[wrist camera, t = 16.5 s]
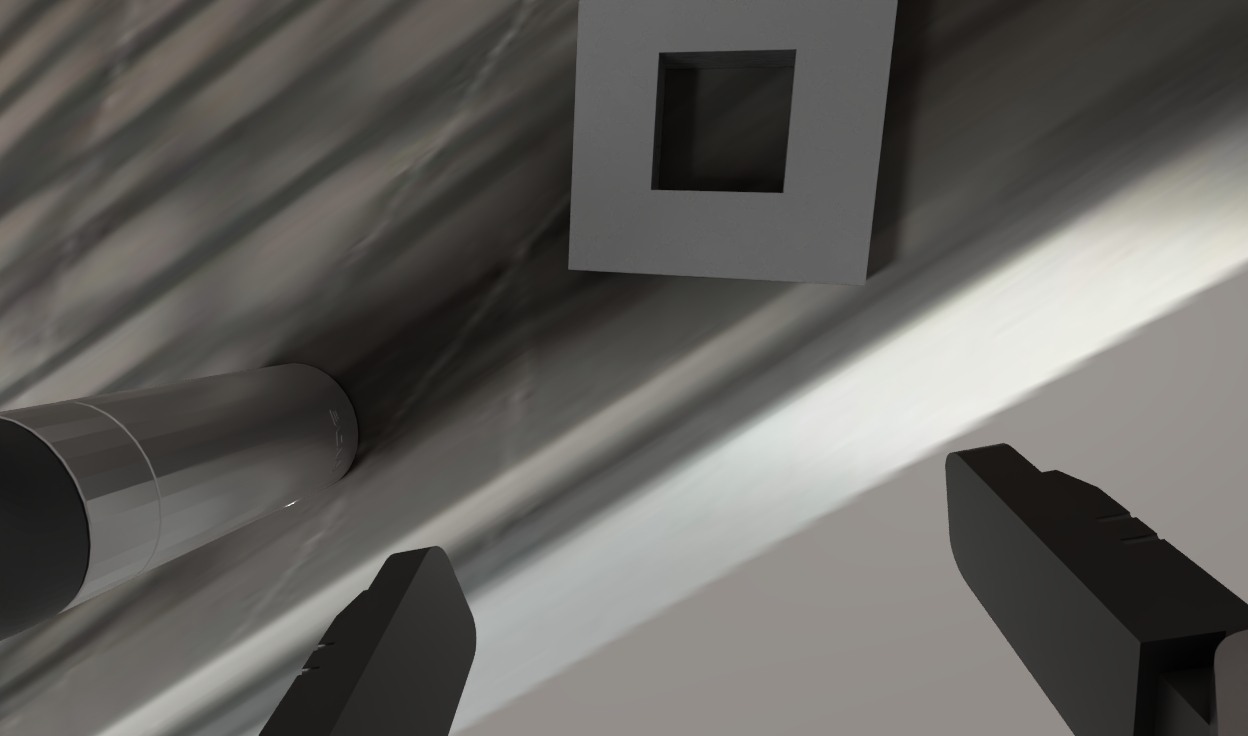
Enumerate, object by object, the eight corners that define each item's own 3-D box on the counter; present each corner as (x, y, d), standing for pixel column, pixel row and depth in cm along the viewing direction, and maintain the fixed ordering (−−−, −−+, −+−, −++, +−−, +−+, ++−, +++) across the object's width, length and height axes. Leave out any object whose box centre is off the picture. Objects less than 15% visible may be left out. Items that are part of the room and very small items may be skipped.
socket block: (580, 270, 36) (568, 269, 34) (592, -14, 34) (580, -37, 32) (857, 285, 33) (865, 285, 31) (892, -28, 31) (903, -55, 28)
